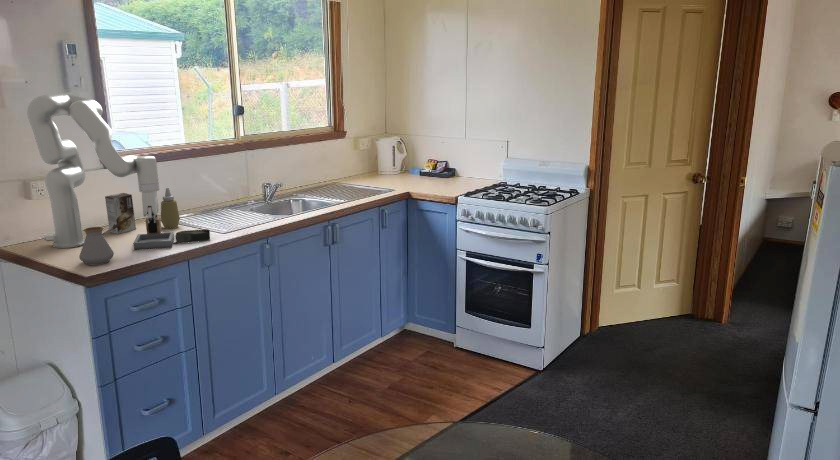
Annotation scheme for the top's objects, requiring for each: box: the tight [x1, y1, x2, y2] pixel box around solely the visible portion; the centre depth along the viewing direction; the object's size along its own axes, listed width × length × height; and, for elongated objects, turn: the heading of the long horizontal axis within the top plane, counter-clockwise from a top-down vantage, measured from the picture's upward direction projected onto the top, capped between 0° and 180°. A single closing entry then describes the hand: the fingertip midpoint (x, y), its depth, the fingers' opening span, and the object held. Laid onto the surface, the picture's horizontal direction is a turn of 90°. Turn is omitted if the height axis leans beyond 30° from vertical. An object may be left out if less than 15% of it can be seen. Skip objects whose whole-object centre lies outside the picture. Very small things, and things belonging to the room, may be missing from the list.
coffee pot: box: [79, 216, 134, 266], centre depth 233 cm, size 21×12×15 cm, turn 145°
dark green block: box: [173, 228, 211, 245], centre depth 258 cm, size 5×3×15 cm
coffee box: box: [104, 192, 137, 235], centre depth 272 cm, size 9×6×16 cm
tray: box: [132, 231, 175, 251], centre depth 253 cm, size 14×14×3 cm
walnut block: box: [145, 216, 162, 235], centre depth 252 cm, size 5×5×6 cm
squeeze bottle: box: [160, 187, 181, 229], centre depth 279 cm, size 8×8×18 cm
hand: (154, 230), depth 252 cm, fingers closed on walnut block, 5 cm apart
